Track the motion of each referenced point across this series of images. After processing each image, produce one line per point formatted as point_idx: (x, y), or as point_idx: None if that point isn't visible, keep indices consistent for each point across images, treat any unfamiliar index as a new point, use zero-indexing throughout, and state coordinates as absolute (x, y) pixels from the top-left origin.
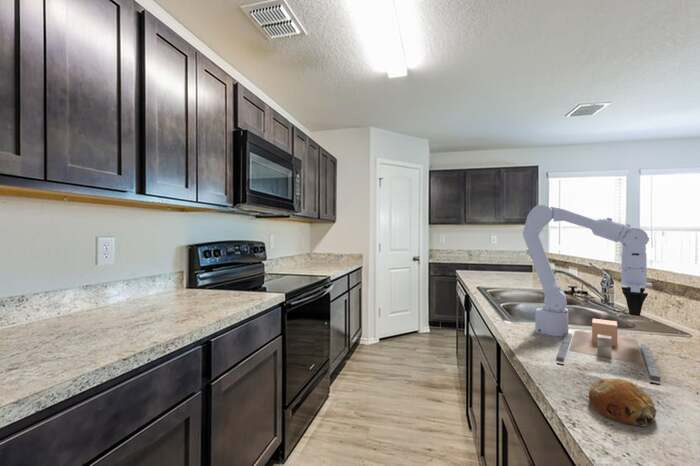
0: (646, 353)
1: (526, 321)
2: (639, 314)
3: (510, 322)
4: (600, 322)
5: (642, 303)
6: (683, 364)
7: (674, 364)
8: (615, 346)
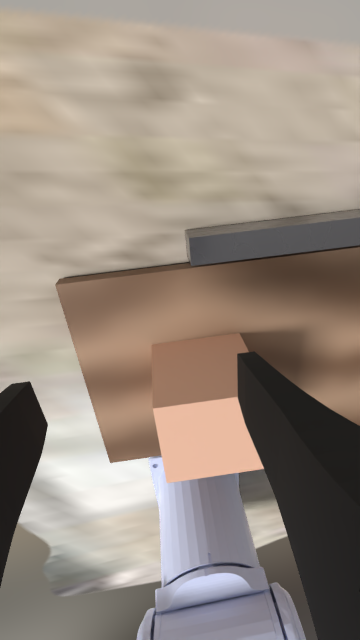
0: (338, 237)
1: (68, 559)
2: (262, 358)
3: (123, 572)
4: (241, 449)
5: (347, 420)
6: (286, 89)
7: (309, 128)
8: (249, 337)
